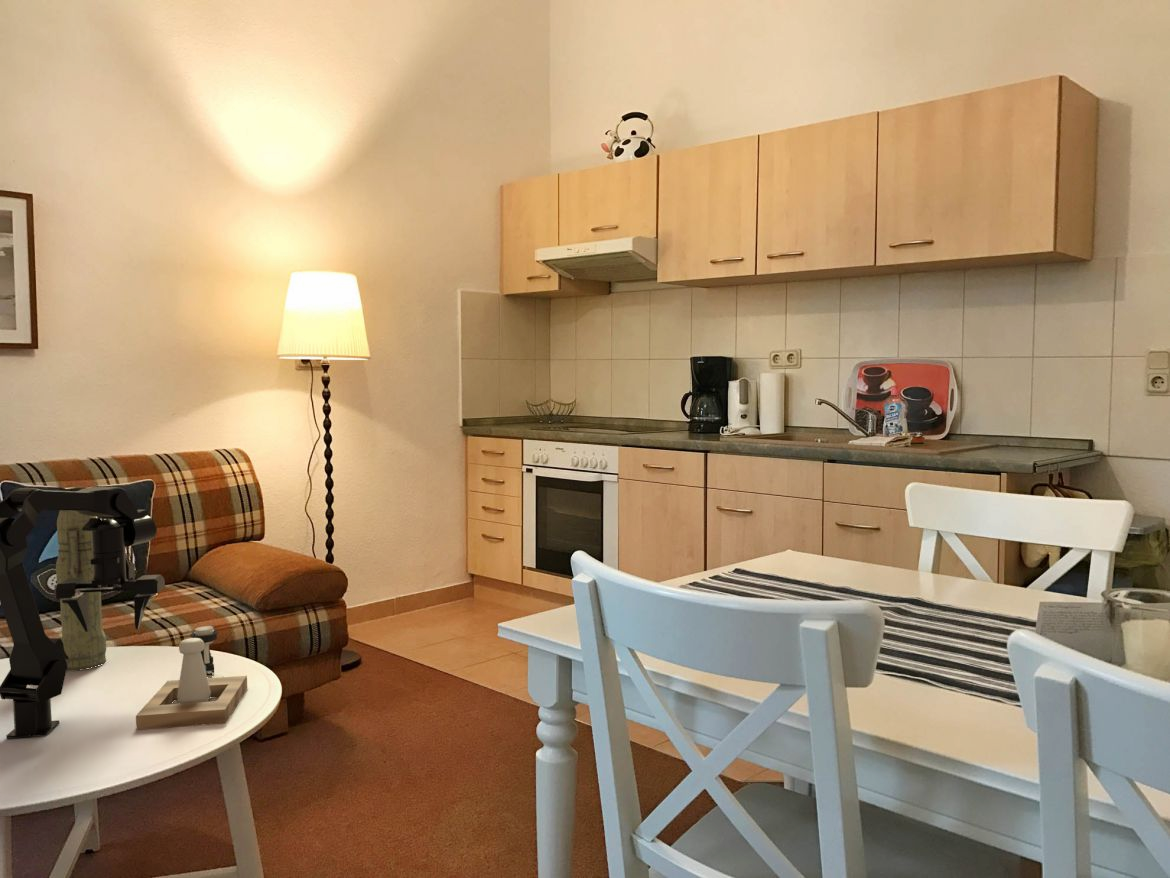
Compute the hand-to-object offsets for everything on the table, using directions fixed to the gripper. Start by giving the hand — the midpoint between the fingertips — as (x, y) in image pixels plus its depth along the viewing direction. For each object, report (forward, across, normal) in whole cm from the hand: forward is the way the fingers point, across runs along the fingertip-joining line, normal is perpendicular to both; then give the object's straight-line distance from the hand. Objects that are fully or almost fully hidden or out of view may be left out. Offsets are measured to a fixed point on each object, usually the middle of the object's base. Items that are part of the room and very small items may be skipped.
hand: (112, 630), depth 185 cm
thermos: (+13, +14, -24) cm, 31 cm away
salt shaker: (+13, -17, +11) cm, 24 cm away
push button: (+13, -15, -9) cm, 22 cm away
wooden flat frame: (+13, -18, +11) cm, 24 cm away
